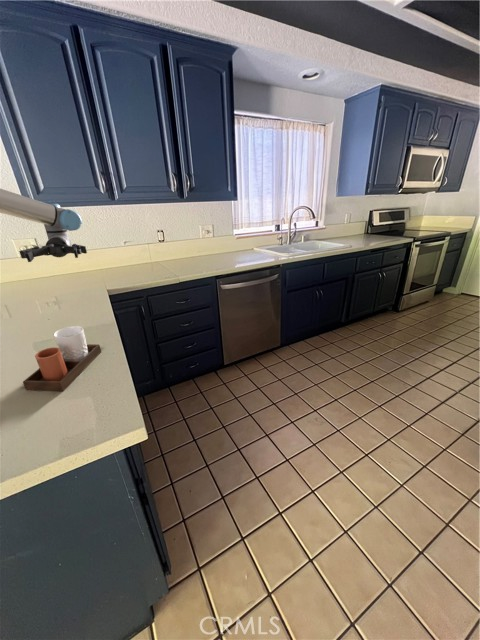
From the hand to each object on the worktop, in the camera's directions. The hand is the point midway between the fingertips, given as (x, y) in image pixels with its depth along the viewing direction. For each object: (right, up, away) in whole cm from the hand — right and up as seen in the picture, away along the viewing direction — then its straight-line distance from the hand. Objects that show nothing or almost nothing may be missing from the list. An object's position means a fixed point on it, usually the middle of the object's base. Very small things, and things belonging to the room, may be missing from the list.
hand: (52, 255), depth 89 cm
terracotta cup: (+10, -39, -13) cm, 42 cm away
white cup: (+11, -35, -4) cm, 36 cm away
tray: (+11, -37, -8) cm, 39 cm away
